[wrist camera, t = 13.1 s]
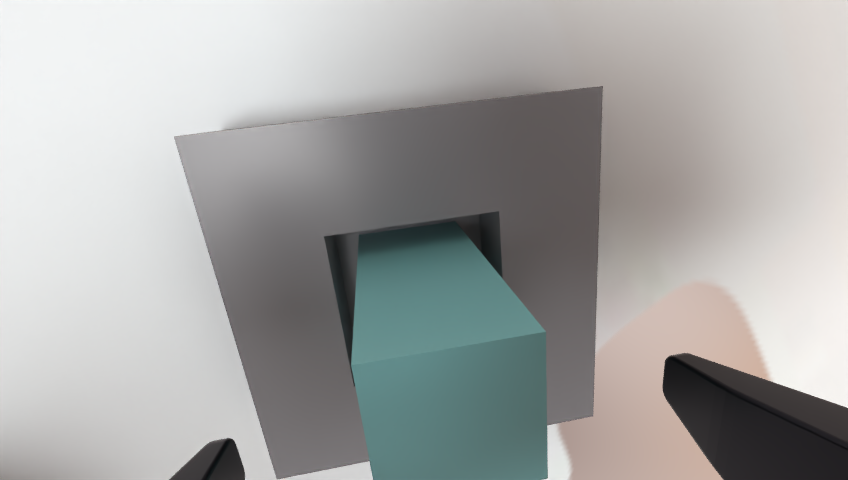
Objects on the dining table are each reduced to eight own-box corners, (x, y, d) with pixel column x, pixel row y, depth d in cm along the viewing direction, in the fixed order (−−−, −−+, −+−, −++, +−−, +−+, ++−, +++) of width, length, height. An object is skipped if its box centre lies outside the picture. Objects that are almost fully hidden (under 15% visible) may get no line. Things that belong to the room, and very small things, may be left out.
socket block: (553, 362, 19) (593, 416, 15) (293, 410, 18) (276, 479, 14) (550, 92, 15) (602, 86, 12) (219, 130, 14) (174, 136, 11)
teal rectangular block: (462, 306, 16) (547, 478, 9) (373, 321, 16) (380, 513, 8) (455, 221, 15) (546, 331, 7) (358, 234, 15) (351, 365, 7)
